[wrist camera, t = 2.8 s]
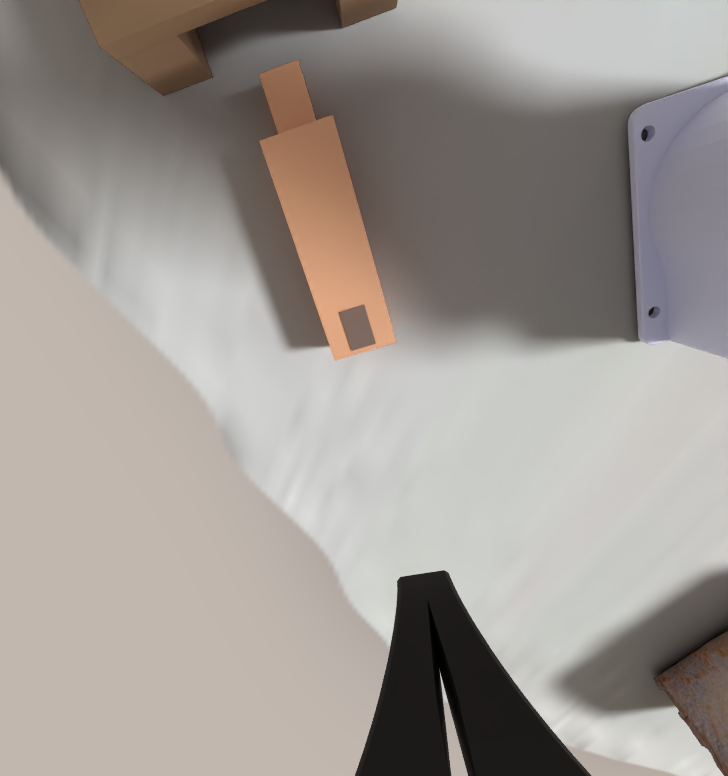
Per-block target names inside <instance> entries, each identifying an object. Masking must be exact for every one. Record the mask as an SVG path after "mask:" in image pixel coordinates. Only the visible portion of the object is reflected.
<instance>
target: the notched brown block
mask: <svg viewBox="0 0 728 776" xmlns="http://www.w3.org/2000/svg"><path fill="white" fill-rule="evenodd" d="M264 1H266V0H79V2H80V5H81V7H82V9H83V11H84V14H85V16H86V18H87V20H88V23H89V25H90V27H91V30H92V32H93V34H94V36H95V39H96V41H97V43H98V46H99V47H100V48H101V49H103V50H104V51H105V52H107V53H108V54H109V55H111V56H112V57H113V58H115V59H116V60H117V61H118V62H120V63H121V64H122V65H124V66H125V67H126V68H128V69H129V70H130V71H132V72H133V73H134V74H136V75H137V76H138V77H140V78H141V79H142V80H143V81H145V82H146V83H147V84H149V85H150V86H151V87H153V88H154V89H155V90H157V91H158V92H159V93H161V94H162V95H163V96H164V95H167V94H169V93H172V92H175V91H177V90H180V89H182V88H185V87H188V86H190V85H193V84H196V83H198V82H201V81H204V80H206V79H209V78H211V77H213V76H212V73H211V70H210V68H209V65H208V62H207V59H206V57H205V54H204V51H203V48H202V46H201V43H200V40H199V37H198V35H197V32H196V29H195V28H197V27H200V26H202V25H205V24H208V23H210V22H213V21H215V20H218V19H220V18H223V17H225V16H228V15H230V14H233V13H236V12H238V11H241V10H243V9H246V8H248V7H251V6H253V5H256V4H258V3H261V2H264ZM335 2H336V6H337V10H338V14H339V18H340V21H341V25H342V28H344V27H346V26H349V25H351V24H354V23H357V22H359V21H362V20H365V19H367V18H370V17H373V16H375V15H378V14H380V13H383V12H386V11H388V10H391V9H394V8H396V6H397V0H335Z"/></svg>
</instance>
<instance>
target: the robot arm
mask: <svg viewBox="0 0 728 776" xmlns="http://www.w3.org/2000/svg"><path fill="white" fill-rule="evenodd" d="M643 129H646V130H647V132H648V136H647V139H646V141H643V140H642V138H641V132H642V130H643ZM628 141H629V161H630V180H631V200H632V220H633V240H634V260H635V279H636V299H637V319H638V336H639V339H640V340H641V341H642V342H644V343H647V344H657V343H660V342H664V341H667V340H670V341H673V342H677V343H680V344H683V345H686V346H689V347H693V348H696V349H699V350H702V351H706V352H709V353H712V354H715V355H719V356H722V357H725V358H728V76H726V77H723V78H720V79H717V80H714V81H711V82H709V83H706V84H703V85H700V86H697V87H694V88H691V89H688V90H685V91H682V92H679V93H676V94H673V95H670V96H667V97H664V98H661V99H658V100H655V101H652V102H649V103H646V104H644V105H642V106H640V107H638V108H636V109H635V110H634V111H633V112H632V113H631V115H630V117H629V120H628ZM652 307H654V312H653V313H652V315H650V316H649V315H648V312H649V310H650V309H651V308H652ZM397 587H398V591H397V607H396V615H395V623H394V630H393V635H392V641H391V646H390V652H389V657H388V662H387V667H386V671H385V675H384V679H383V683H382V688H381V692H380V696H379V700H378V704H377V707H376V711H375V714H374V718H373V721H372V725H371V728H370V732H369V735H368V738H367V742H366V744H365V748H364V751H363V754H362V757H361V759H360V762H359V765H358V768H357V771H356V774H355V776H451V770H450V761H449V752H448V742H447V733H446V724H445V715H444V706H443V697H442V688H441V679H440V673H441V676H442V680H443V684H444V688H445V691H446V695H447V699H448V702H449V706H450V710H451V713H452V717H453V721H454V724H455V728H456V732H457V736H458V739H459V743H460V747H461V750H462V754H463V758H464V761H465V765H466V769H467V773H468V776H591V775H590V774H589V772H587V770H586V769H585V768H584V767H583V766H582V765H581V764H580V762H579V761H577V759H576V758H575V757H574V756H573V755H572V753H571V752H570V751H569V750H568V749H567V748H566V746H565V745H564V744H563V743H562V742H561V740H560V739H559V738H558V737H557V736H556V734H555V733H554V732H553V731H552V730H551V729H550V727H549V726H548V725H547V724H546V722H545V721H544V720H543V719H542V717H541V716H540V715H539V714H538V712H537V711H536V710H535V709H534V707H533V706H532V705H531V704H530V702H529V701H528V700H527V698H526V697H525V696H524V694H523V693H522V692H521V690H520V689H519V688H518V686H517V685H516V684H515V682H514V681H513V680H512V678H511V677H510V676H509V674H508V673H507V671H506V670H505V669H504V667H503V666H502V664H501V663H500V662H499V660H498V659H497V657H496V656H495V654H494V653H493V651H492V650H491V648H490V647H489V645H488V644H487V642H486V641H485V639H484V637H483V636H482V634H481V633H480V631H479V630H478V628H477V627H476V625H475V623H474V622H473V620H472V618H471V617H470V615H469V613H468V611H467V610H466V608H465V606H464V604H463V603H462V601H461V599H460V597H459V595H458V593H457V591H456V589H455V587H454V585H453V583H452V580H451V578H450V575H449V573H448V572H446V571H444V570H443V571H437V572H430V573H424V574H417V575H411V576H404V577H400V578H399V579H398V581H397ZM439 669H440V670H439Z"/></svg>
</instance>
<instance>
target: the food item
mask: <svg viewBox="0 0 728 776" xmlns="http://www.w3.org/2000/svg"><path fill="white" fill-rule="evenodd" d="M654 681H655V682H656V684H657V686H658V687H659V689H662V690H664V691H665V692H666V693H667V694H668V696H669V697H670V699H671V700H672V701H673V703H674V704H675V705H676V707H677V708H678V710H679V713H678V714H679V715H680V717H681V718H682V719H683V720H684V721H685V722H686V724H687V725H688V726H689V727H690V729H691V731H692V732H693V734H694V735H695V737H696V738H697V739H698V741H699V742H700V744H701V746H704V747H705V748H707V749H708V750H709V752H710V753H711V754H712V756H713V759H714V761H715V763H716V765H717V767H718V768H719V769H720V771H721V772H722V773H723V775H724V776H728V631H726V632H725V633H723V634H721V635H720V636H718V637H716V638H714V639H713V640H711V641H709V642H707V643H706V644H705V645H703V646H702V647H701V648H699V649H697V650H696V651H695V652H693V653H691V654H689V655H688V656H687V657H686V658H684V659H683V660H681V661H680V662H679V663H677V664H676V665H674V666H672V667H671V668H669V669H668V670H666V671H664V672H663V673H661V674H660V675H659V676H657V677H656V678H654Z"/></svg>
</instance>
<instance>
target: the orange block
mask: <svg viewBox="0 0 728 776" xmlns="http://www.w3.org/2000/svg"><path fill="white" fill-rule="evenodd" d="M259 77H260V80H261V83H262V86H263V89H264V92H265V95H266V99H267V102H268V105H269V108H270V111H271V114H272V117H273V120H274V123H275V126H276V129H277V132H278V134H277V135H274V136H271V137H269V138H266V139H263V140H260V141H259V142H260V145H261V148H262V151H263V154H264V157H265V160H266V163H267V166H268V168H269V171H270V174H271V177H272V180H273V183H274V186H275V189H276V192H277V195H278V197H279V200H280V203H281V206H282V209H283V212H284V215H285V218H286V221H287V224H288V226H289V229H290V232H291V235H292V238H293V241H294V244H295V247H296V250H297V253H298V255H299V258H300V261H301V264H302V267H303V270H304V273H305V276H306V279H307V282H308V284H309V287H310V290H311V293H312V296H313V299H314V302H315V305H316V308H317V311H318V313H319V316H320V319H321V322H322V325H323V328H324V331H325V334H326V337H327V340H328V342H329V345H330V348H331V351H332V354H333V357H334V360H338V359H342V358H345V357H349V356H352V355H355V354H359V353H362V352H365V351H369V350H372V349H375V348H379V347H382V346H385V345H389V344H392V343H396V338H395V335H394V331H393V328H392V324H391V321H390V317H389V313H388V310H387V306H386V303H385V299H384V296H383V292H382V288H381V285H380V281H379V278H378V274H377V270H376V267H375V263H374V260H373V256H372V253H371V249H370V245H369V242H368V238H367V235H366V231H365V228H364V224H363V220H362V217H361V213H360V210H359V206H358V203H357V199H356V195H355V192H354V188H353V185H352V181H351V178H350V174H349V170H348V167H347V163H346V160H345V156H344V153H343V149H342V145H341V142H340V138H339V135H338V131H337V128H336V124H335V120H334V117H333V115H330V116H327V117H324V118H322V119H319V120H316V117H315V113H314V110H313V107H312V103H311V100H310V96H309V93H308V90H307V86H306V83H305V79H304V76H303V73H302V70H301V67H300V64H299V61H298V60H295V61H292V62H290V63H287V64H285V65H282V66H279V67H277V68H274V69H271V70H269V71H266V72H263V73H261V74H259Z"/></svg>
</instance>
